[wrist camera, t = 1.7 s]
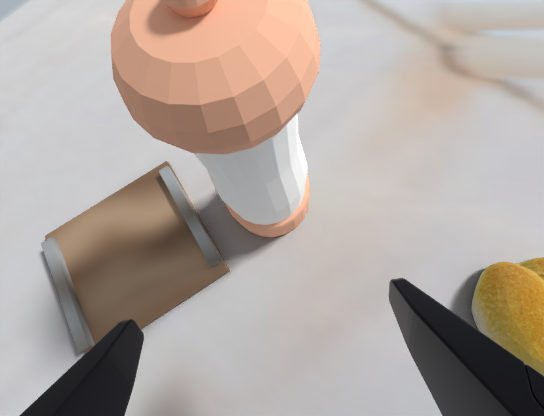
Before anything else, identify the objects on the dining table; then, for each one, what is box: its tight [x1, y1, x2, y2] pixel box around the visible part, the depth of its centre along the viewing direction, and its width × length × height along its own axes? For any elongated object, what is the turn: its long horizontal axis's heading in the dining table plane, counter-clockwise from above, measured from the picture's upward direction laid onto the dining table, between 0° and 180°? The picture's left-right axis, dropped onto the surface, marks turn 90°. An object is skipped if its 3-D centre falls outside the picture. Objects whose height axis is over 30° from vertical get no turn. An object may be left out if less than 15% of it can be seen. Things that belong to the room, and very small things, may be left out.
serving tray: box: [41, 161, 229, 354], centre depth 24 cm, size 13×14×1 cm
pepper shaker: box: [111, 0, 321, 237], centre depth 15 cm, size 7×7×19 cm
